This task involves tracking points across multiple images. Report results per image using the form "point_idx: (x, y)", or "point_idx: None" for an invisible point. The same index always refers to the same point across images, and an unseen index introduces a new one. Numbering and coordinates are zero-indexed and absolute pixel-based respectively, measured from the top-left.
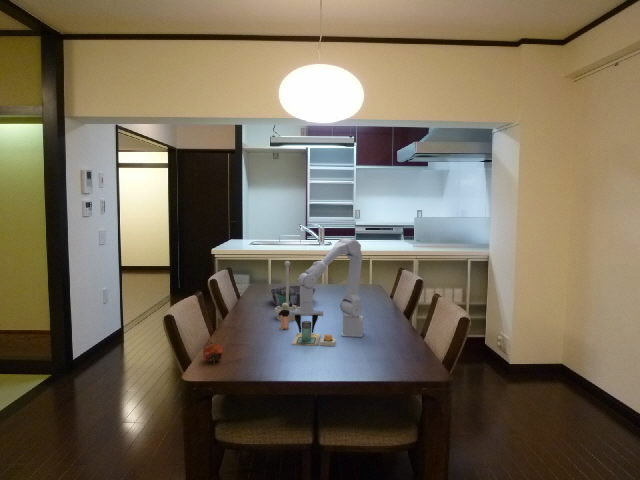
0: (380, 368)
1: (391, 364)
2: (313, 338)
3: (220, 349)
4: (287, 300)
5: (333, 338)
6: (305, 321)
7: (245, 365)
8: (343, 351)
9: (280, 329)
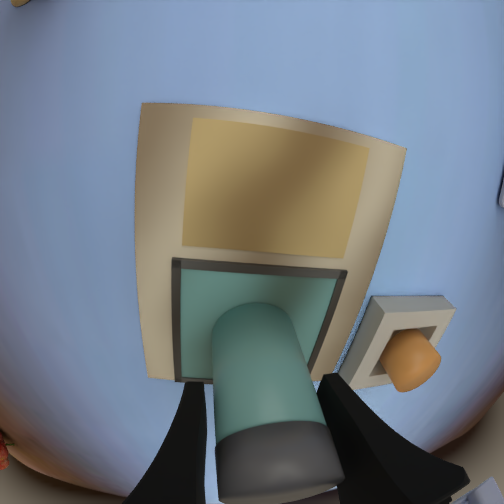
0: (419, 444)
1: (451, 422)
2: (322, 285)
3: (3, 465)
4: None
5: (442, 321)
6: (273, 488)
7: (73, 465)
8: (406, 399)
9: (16, 6)
